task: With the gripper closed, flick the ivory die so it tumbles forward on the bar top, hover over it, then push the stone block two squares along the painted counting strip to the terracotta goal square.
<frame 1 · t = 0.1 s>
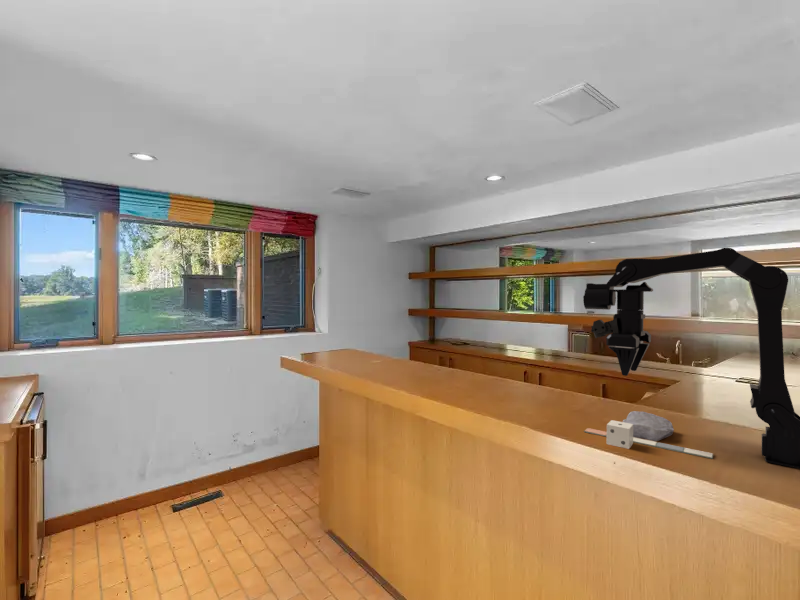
hand: (629, 373, 99), 15 cm above the table, tool pointing down, fingers open, 9 cm apart
stone block: (648, 435, 98), on the table
die: (619, 444, 90), on the table
counting strip: (643, 442, 91), on the table
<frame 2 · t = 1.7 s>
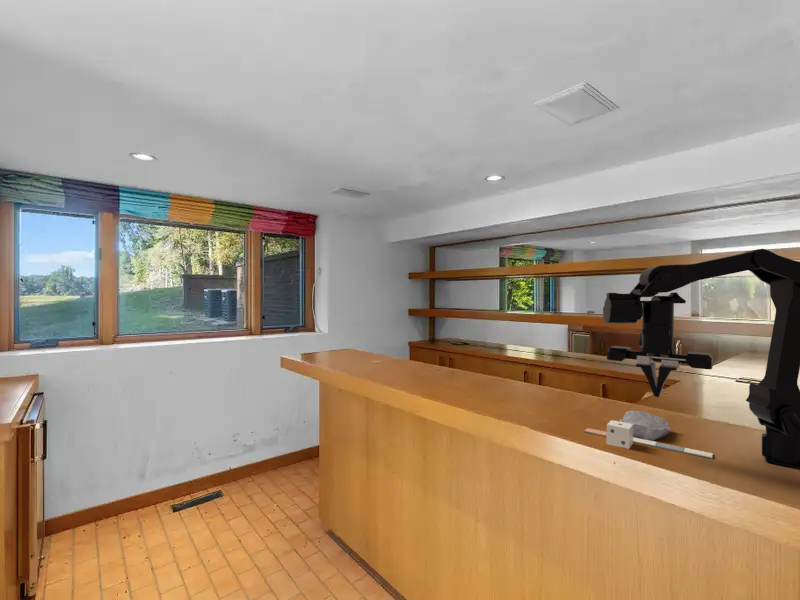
hand: (656, 396, 86), 12 cm above the table, tool pointing down, fingers closed
nothing on the table moved.
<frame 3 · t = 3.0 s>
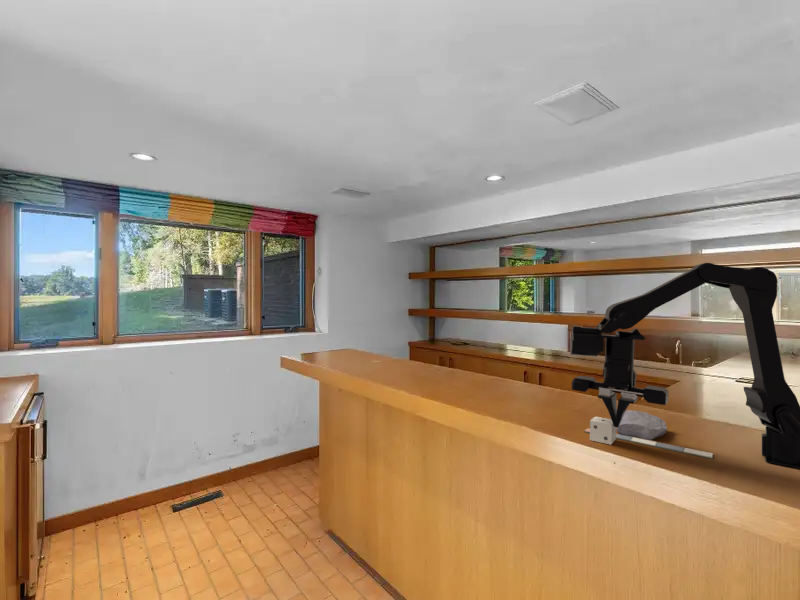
hand: (616, 426, 91), 4 cm above the table, tool pointing down, fingers closed
die: (602, 439, 93), on the table, touching gripper
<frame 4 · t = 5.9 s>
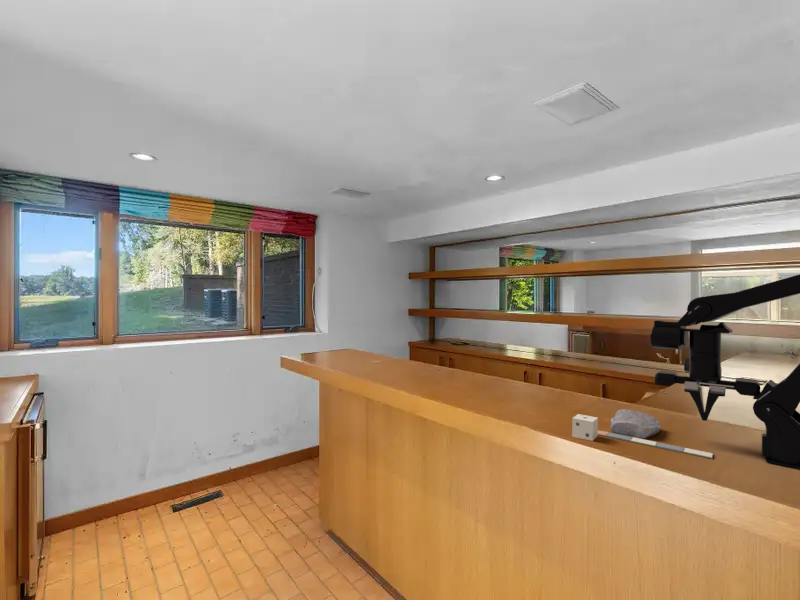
hand: (704, 420, 91), 5 cm above the table, tool pointing down, fingers closed
stone block: (636, 432, 100), on the table
die: (584, 436, 95), on the table
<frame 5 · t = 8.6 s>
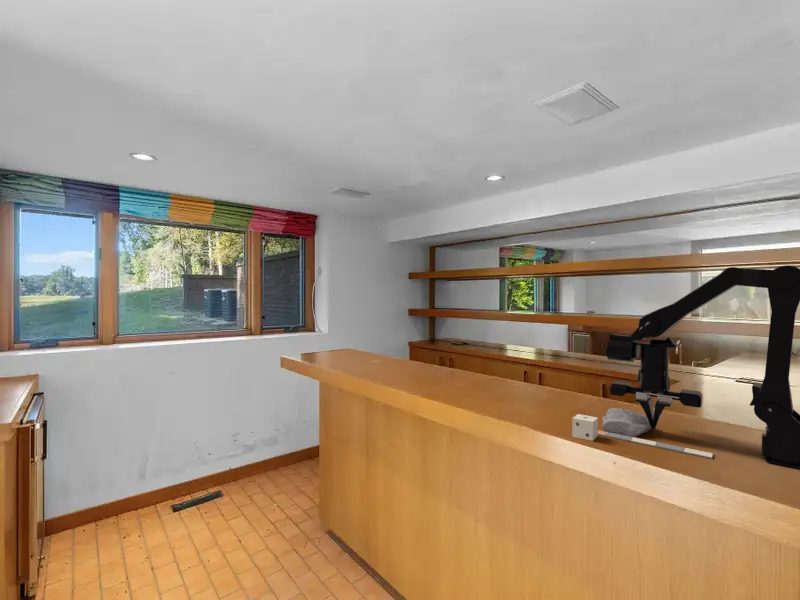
hand: (653, 428, 97), 1 cm above the table, tool pointing down, fingers closed
stone block: (627, 431, 101), on the table
everything else where it was.
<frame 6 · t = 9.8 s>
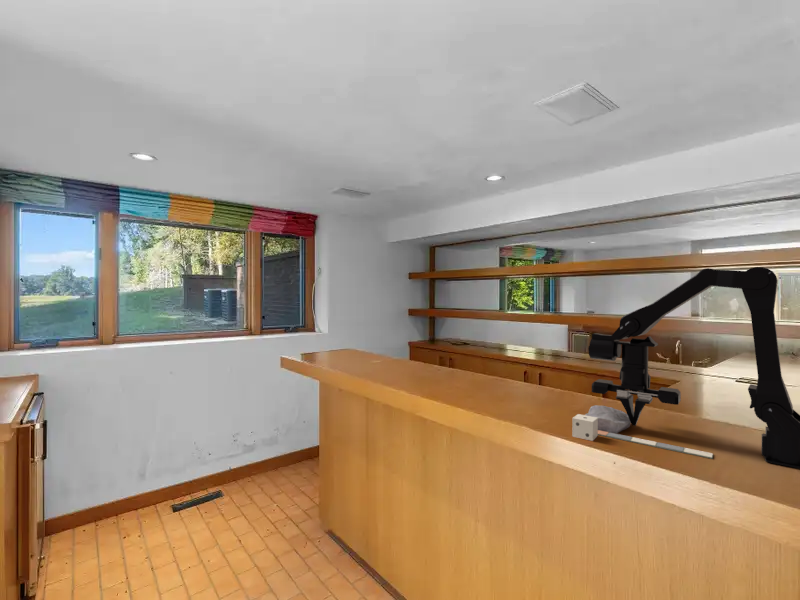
hand: (633, 425, 100), 1 cm above the table, tool pointing down, fingers closed
stone block: (608, 427, 103), on the table
everything else where it was.
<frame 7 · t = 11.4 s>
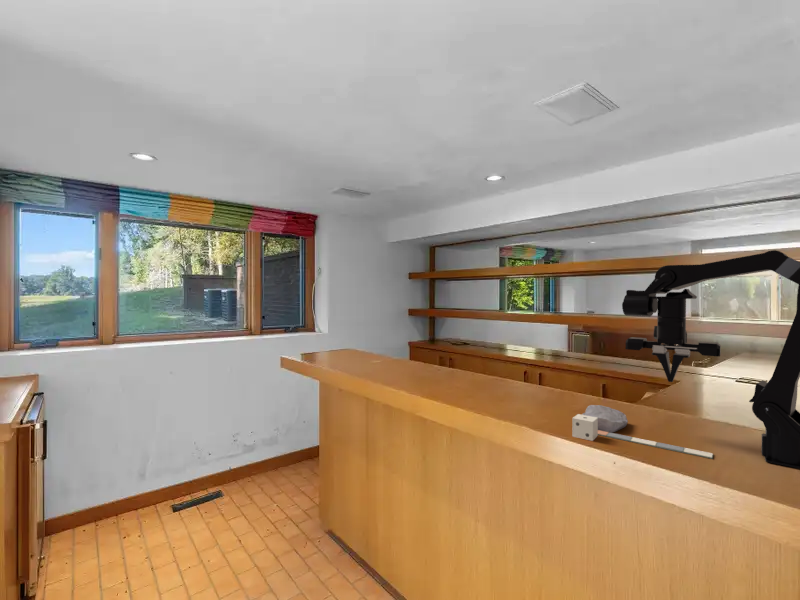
hand: (670, 381, 97), 13 cm above the table, tool pointing down, fingers closed
nothing on the table moved.
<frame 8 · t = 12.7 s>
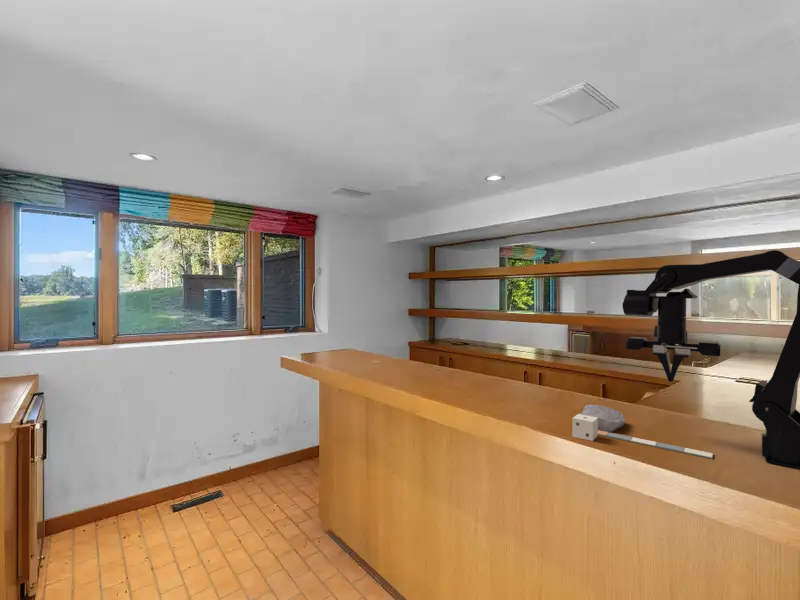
hand: (670, 381, 97), 13 cm above the table, tool pointing down, fingers closed
at the end: stone block inside the target area (0.1 cm from its centre), on the table; die moved 7.4 cm from its start; stone block tilted 0° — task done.
